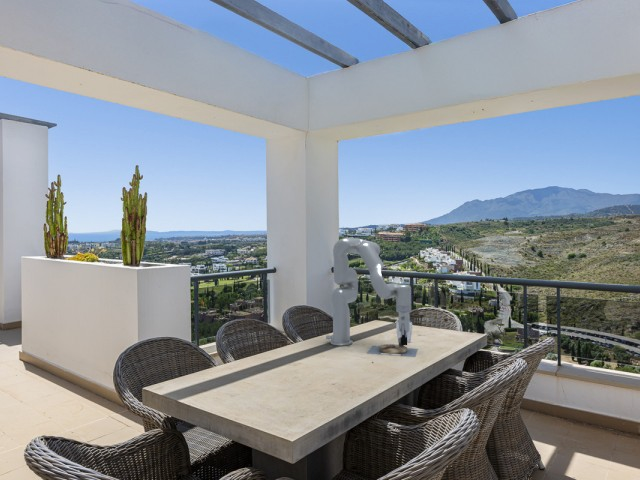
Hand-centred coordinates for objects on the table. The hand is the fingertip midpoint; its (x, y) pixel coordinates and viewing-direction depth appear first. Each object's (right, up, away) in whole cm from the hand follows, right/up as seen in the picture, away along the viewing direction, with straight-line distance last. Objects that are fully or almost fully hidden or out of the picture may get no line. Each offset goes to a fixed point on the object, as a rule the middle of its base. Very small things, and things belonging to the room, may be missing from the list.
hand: (404, 344), depth 220 cm
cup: (+5, -5, +23) cm, 24 cm away
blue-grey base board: (-6, -5, 0) cm, 7 cm away
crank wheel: (-6, -3, 0) cm, 7 cm away
